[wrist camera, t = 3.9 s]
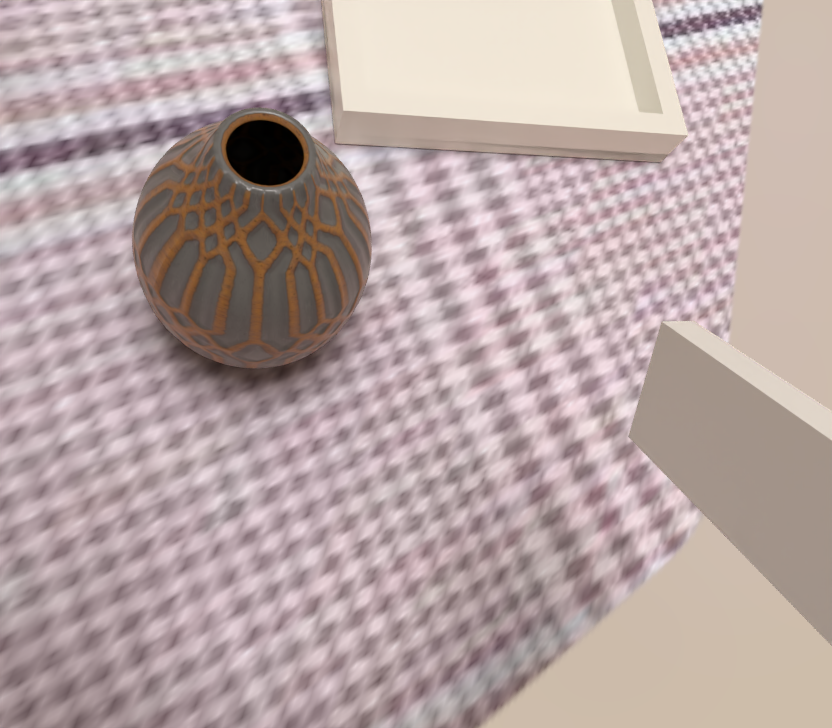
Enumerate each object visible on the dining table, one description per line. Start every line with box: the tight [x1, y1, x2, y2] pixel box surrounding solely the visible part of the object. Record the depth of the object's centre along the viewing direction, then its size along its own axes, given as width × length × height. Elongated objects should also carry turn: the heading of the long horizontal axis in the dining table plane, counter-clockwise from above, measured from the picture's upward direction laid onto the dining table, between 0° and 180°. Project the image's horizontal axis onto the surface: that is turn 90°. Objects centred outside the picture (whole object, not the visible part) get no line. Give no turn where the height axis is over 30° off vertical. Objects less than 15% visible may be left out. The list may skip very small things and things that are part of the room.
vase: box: [132, 108, 372, 368], centre depth 20 cm, size 7×7×9 cm
